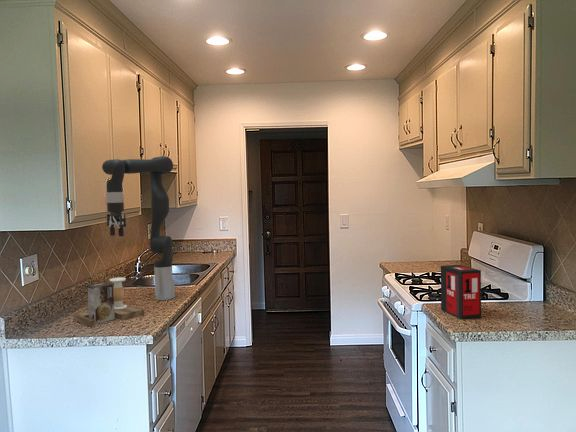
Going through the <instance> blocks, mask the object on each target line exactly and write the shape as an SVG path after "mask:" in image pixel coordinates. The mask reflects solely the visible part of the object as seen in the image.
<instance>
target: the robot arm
mask: <svg viewBox="0 0 576 432" xmlns="http://www.w3.org/2000/svg"><path fill="white" fill-rule="evenodd" d="M173 168H174V162H173V161H172V159H171V158H170V157H169V156H155V157H152V158H151V159H147V158H146V159H144V158H143V159H142V158H141V159H140V158H139V159H138V158H136V159H135V158H133V159H132V158H129V159H117V158H115V159H107V160H105V161H104V162H103V163H102V166H101V169H102V171H103V172H104V173H105V174H106V175H109V176H110V175H111V178H110V179H108V180H107V181H106V212H108V213H107V214H106V226H107V227H108V228H109V235H110V236H115V235H116V228H115V226H116V227H117V228H118V229H117V230H118V233H117V234H118V237H124V235H125V233H124V228H126V227H127V222H126V221H127V220H126V214H125V213H122V212H124V211H125V203H124V201H125V198H124V193H123V192H124V191H123V189H124V188H123V182H124V179H125V178H124V177H125V175H126V174H140V173H142V174H143V173H149V176H150V177H149V178H150V192H151V193H150V195H151V197H150V211H151V212H150V213H151V219H150V220H151V223H150V224H151V225H150V237H149V249H150V252H151V253H152V254H162V257H161V258H160V259H158V260H155V261H154V262H153V267H154V268H153V271H154V274H153V275H154V291H155V292H154V294H155V296H154V297H155V300H157V301H166V300H168V301H169V300H171V299H174V298H176V292H175V291H176V288H175V287H176V286H175V280H174V278H173V276H174V275H173V259H174V255H173V253H174V249H173V248H174V245H173V244H174V243H173V239H172V237H171V236H169V235H164V236H163V235H161V234H160V233H161V227H162V225H163V223H164V221H165V219H167V216H168V215H169V212H170V197H169V195H168V193H167V192H166V188H165V187H164V185H163V179H162V177H163V175H165V174H167V175H168V174H169V173H171V172H172V171H173Z"/></svg>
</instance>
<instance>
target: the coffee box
mask: <svg viewBox="0 0 576 432" xmlns="http://www.w3.org/2000/svg"><path fill="white" fill-rule="evenodd" d="M113 287H114V283H111V282H102V283H96V284H91V285H87V287H86V288H87V305H88V311H89V319H92V320H95V325H98V324H102V323H105V322H110V321H114V320H116V318H115V312H114V305H115V301H114V296H113Z"/></svg>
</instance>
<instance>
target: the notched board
mask: <svg viewBox="0 0 576 432" xmlns="http://www.w3.org/2000/svg"><path fill="white" fill-rule="evenodd" d="M123 305H127V308H126V309H123V310H114V312H115V320H116V319H117V320H120V321H124V320H130V319H134V318H138V317H143V316H145V309H143V308H139V307H136V306H132V305H129V304H126V303H123ZM73 321H75V322H78V323H80V324H82V325H84V326H88V327H90V328H92V327H93V328H94V327H95V326H96V324H95V320H92V319H89V310H87V311H84V312H80V313H74V314H73Z"/></svg>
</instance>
